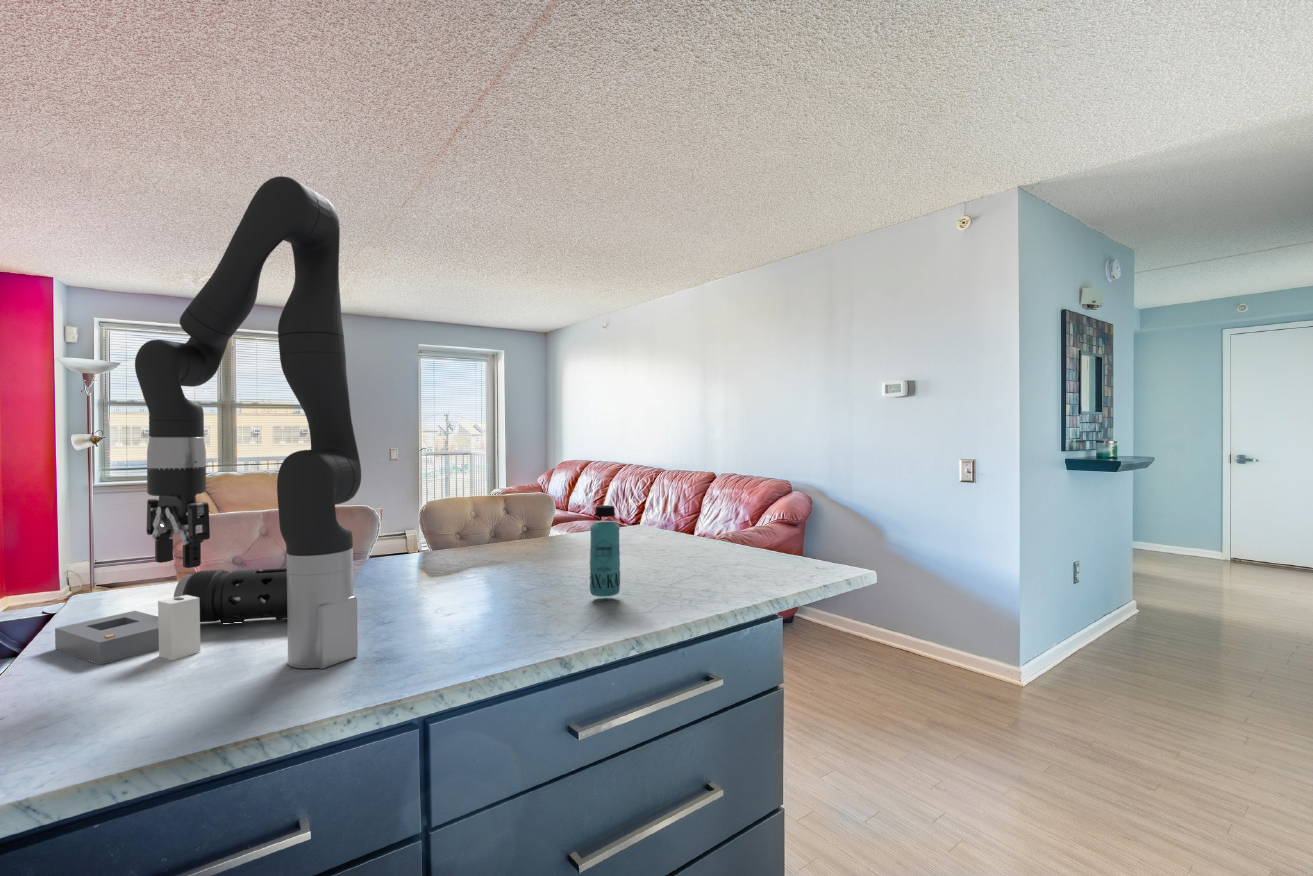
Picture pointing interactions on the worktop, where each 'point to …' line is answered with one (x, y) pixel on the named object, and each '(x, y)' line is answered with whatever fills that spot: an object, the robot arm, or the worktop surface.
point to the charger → (179, 626)
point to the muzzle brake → (237, 594)
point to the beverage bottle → (604, 555)
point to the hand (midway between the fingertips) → (177, 564)
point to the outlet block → (110, 637)
